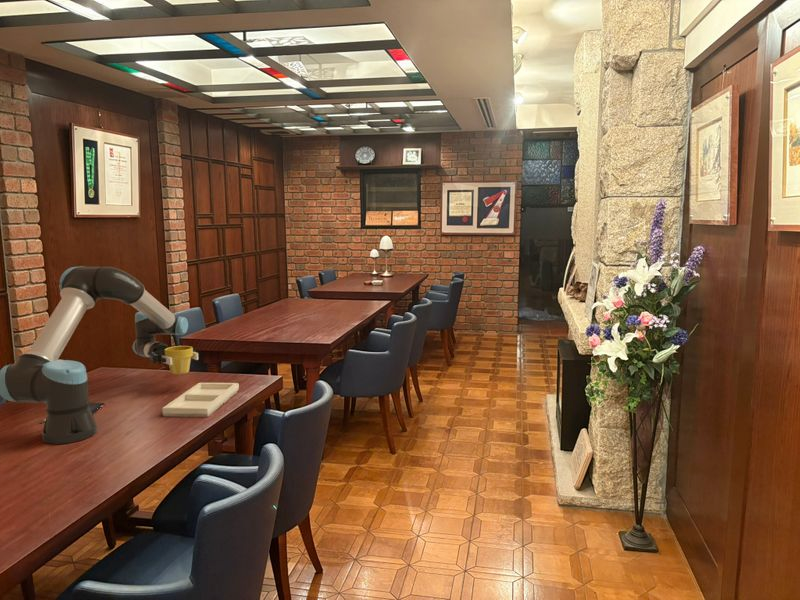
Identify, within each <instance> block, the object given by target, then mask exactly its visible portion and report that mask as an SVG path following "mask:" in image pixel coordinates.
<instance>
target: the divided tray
mask: <svg viewBox="0 0 800 600" xmlns="http://www.w3.org/2000/svg"><path fill="white" fill-rule="evenodd" d="M239 387H240V386H239V383H238V382H198V383H196V384H195V385H193V386H192V387H191V388H189V389H188V390H186V391H184V392H183V393H182V394H180V395H179V396H178V397H176V398H175V399H174V400H172V401H170V402H168V404H166V405H165V406H163V407H162V408H161V409H162V411H161V412H162V417H179V418H180V417H183V418H184V417H186V418H187V417H188V418H190V417H191V418H209V417H210V416H211V415H212V414H214V412H216V411H217V410H218V409H220V408H221V406H222V405H223V403H224V404H225V403H226V402H227V401H229V400H230V399H231V398H232V397H233V396H234V395H235V394H237V393H238V392H239V391H238V390H240V388H239ZM237 391H238V392H237ZM230 397H231V398H230Z"/></svg>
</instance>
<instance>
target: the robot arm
mask: <svg viewBox="0 0 800 600" xmlns="http://www.w3.org/2000/svg"><path fill="white" fill-rule="evenodd" d="M58 289H59V291H60V292H59V295H60V297H61V298H60V301H58V304H57V306H55V308H54V310H53V311H52V312H51V315H50V316H49V318H48V319H47V321H46V323H45V325H44V326H43V328H42V330H41V331H40V332H39V335H37V338H36V339H35V341H34V342H33V343H32V345H31V348H29V350H28V352H24V353H22V354H20V355H19V357H18V358H17V360H16V361H15V363H10V364H7V365H4V366H3V367H2V368H1V369H0V396H1V397H2V398H3V399H4V400H6V401H8V402H15V403H19V404H20V403H33V404H34V403H35V404H36V403H37V404H45V407H46V418H45V419H46V421H45V424H43V429H42V431H41V432H42V433H41V436H42V441H43V442H44V443H46V444H51V445H61V444H62V445H63V444H69V443H74V442H80V441H82V440H86V439H88V438H91V437H92V436H95V435H96V434H97V433H98V423H97V421H96V419H95V417H94V415H92V413H91V411H90V408H89V403H90V398H89V385H88V375H87V368H86V366H85V365H84V364H83V363H82V362H80V361H76V360H69V359H65V360H64V359H59V358H60V357H61V354H63V352H64V349H65V347H66V346H67V344H68V343H69V341H70V339H71V338H72V335H73V334H74V332H75V330H76V329H77V326H78V325H79V323H80V322H81V320H82V318H83V316H84V314H85V313H86V311H87V310H90V309H93V308H94V307H95V305H96V304H97V302H98V300H116V301H121V302H122V303H123V304H125V305H130V306H132V307H133V308H134V309H135V310H137V311H138V312H135V315H134V326H135V327H134V328H135V329H134V330H135V340H134V341H133V344H132V351H133V352H134V353H135V355H138V356H140V357H143V358H147V359H148V360H150V361H151V362H152V364H156V363H157V362H158V365H162V363H163V364H166V365H168V366H169V365H172V358H171V357H167V356H165V349H166V348H169V347H170V346H169V345H168V344H166V343H163V342H160V341H156V335H174V336H177V335H178V336H179V335H185V334H186V333H187V331H188V329H189V322H188V319H187V318H186V317H185V316H180V315H179V316H177V315H175V314H174V313H172V311H170V310H169V309H168V308H167V307H166V306H165V305H163V304H162V303H161V302H160V300H158V299H157V298H155V297H154V296H153V295H152V294H151V293H149V292H148V291H147V290H146V289H145V285H144V284H143V283H142V282H141V281H140V280H138V279H137V278H136V277H134V276H133V275H131V274H129V273H128V272H126V271H124V270H122V269H120V268H117V267H113V266H85V265H83V266H82V265H81V266H80V265H79V266H73V267H68V268H67V269H66V270H64V271H63V273H62V274H61V276H60V278H59V284H58ZM61 360H63V361H61ZM191 360H195V361H198V360H199V352H196V349H194V348H193V356H191Z"/></svg>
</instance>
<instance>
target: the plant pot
mask: <svg viewBox="0 0 800 600" xmlns="http://www.w3.org/2000/svg"><path fill="white" fill-rule="evenodd" d="M168 347H169V348H166V349H165V356H167V357H171V358H172V365H169V364H168V366H169V370H170V374H172V375H183V374H188V373H189V372H190V366H191V361H192V359H191V356H193V349H194V348H193V346H189V345H177V346H168Z"/></svg>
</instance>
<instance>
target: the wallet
mask: <svg viewBox="0 0 800 600" xmlns="http://www.w3.org/2000/svg"><path fill="white" fill-rule="evenodd" d="M105 404H106V403H104V402H89V408H90V411H91V413H92V415H93V414H94V413H95V414H96V413H98V412H99V411H100V410H101V409H102V407H100V406H101V405H105ZM105 406H106V405H105ZM97 408H98V409H97ZM100 408H101V409H100ZM99 409H100V410H99ZM98 410H99V411H98ZM97 411H98V412H97ZM95 414H94V415H95ZM94 415H93V416H94ZM45 421H46V418H45V419H43V420H42V421H41V422H39V423H38V425H43V424H42V423H45Z"/></svg>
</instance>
